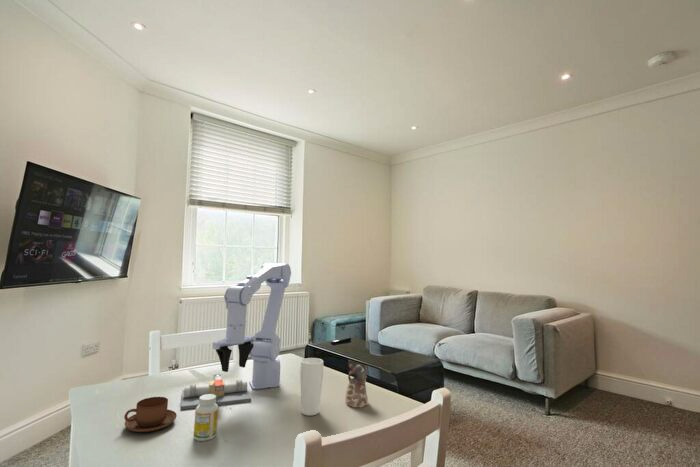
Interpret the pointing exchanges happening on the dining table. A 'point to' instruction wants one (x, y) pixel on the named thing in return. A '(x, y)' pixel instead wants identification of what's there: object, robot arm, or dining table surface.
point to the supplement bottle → (206, 418)
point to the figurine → (356, 387)
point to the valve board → (218, 400)
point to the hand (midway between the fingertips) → (233, 368)
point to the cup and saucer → (150, 415)
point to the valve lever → (218, 383)
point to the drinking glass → (311, 385)
